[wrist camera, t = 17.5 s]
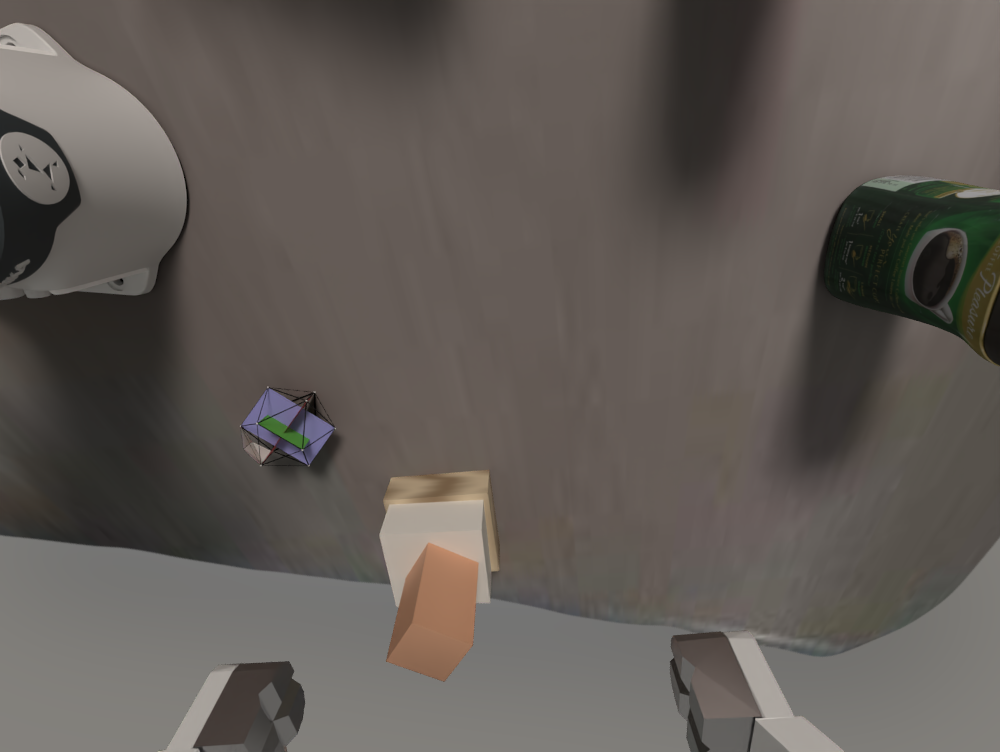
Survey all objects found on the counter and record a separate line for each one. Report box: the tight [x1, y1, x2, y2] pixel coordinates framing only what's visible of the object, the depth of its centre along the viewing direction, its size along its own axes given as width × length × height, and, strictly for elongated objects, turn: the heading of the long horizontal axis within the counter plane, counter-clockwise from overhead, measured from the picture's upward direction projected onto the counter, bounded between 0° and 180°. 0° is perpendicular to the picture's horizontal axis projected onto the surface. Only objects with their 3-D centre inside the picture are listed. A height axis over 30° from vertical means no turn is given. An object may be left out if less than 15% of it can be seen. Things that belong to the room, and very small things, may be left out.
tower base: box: [383, 470, 500, 571], centre depth 49 cm, size 10×10×4 cm
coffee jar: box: [824, 176, 1000, 366], centre depth 30 cm, size 10×8×19 cm
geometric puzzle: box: [240, 387, 336, 466], centre depth 43 cm, size 7×7×8 cm
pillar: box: [386, 542, 479, 682], centre depth 40 cm, size 5×5×8 cm
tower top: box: [379, 500, 491, 607], centre depth 46 cm, size 9×9×4 cm
